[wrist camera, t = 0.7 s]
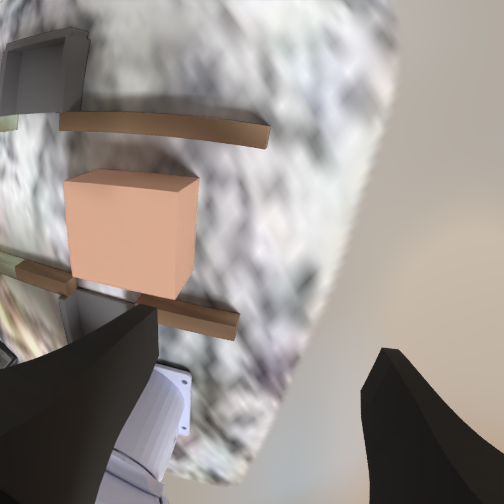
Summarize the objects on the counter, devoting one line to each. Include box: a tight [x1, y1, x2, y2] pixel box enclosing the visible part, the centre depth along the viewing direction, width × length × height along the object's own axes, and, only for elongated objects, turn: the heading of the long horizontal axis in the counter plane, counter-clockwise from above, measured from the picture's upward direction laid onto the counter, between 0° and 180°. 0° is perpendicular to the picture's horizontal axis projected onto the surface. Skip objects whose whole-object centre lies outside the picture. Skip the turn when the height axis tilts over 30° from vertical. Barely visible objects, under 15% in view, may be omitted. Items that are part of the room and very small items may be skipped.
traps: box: [0, 27, 135, 344], centre depth 19 cm, size 25×13×2 cm, turn 171°
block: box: [64, 169, 200, 300], centre depth 18 cm, size 6×7×4 cm
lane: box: [0, 111, 271, 341], centre depth 19 cm, size 13×32×2 cm, turn 81°
